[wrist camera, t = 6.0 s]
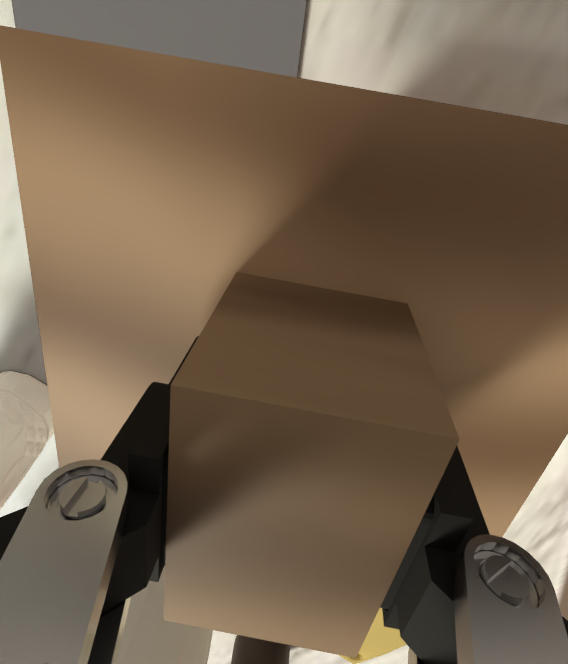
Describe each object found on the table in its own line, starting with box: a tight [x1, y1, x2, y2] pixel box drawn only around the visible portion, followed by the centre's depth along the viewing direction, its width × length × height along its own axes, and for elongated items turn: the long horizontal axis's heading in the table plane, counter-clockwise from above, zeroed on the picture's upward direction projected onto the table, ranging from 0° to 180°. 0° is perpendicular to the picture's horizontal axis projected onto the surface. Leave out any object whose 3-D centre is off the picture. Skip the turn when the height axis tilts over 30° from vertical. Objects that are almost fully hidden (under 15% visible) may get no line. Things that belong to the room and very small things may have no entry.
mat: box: [12, 0, 307, 77], centre depth 24 cm, size 15×15×1 cm
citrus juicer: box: [116, 566, 213, 664], centre depth 35 cm, size 16×17×20 cm
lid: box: [0, 26, 568, 658], centre depth 10 cm, size 14×14×6 cm
